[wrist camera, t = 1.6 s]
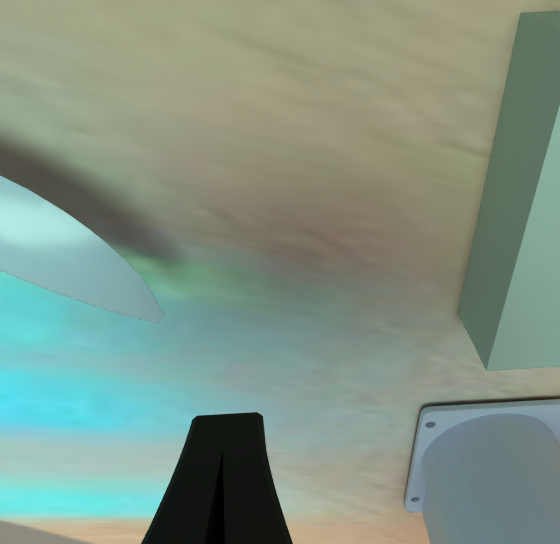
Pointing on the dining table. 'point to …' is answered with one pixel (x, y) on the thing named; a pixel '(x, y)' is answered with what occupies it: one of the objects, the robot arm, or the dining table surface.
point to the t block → (520, 213)
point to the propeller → (67, 256)
